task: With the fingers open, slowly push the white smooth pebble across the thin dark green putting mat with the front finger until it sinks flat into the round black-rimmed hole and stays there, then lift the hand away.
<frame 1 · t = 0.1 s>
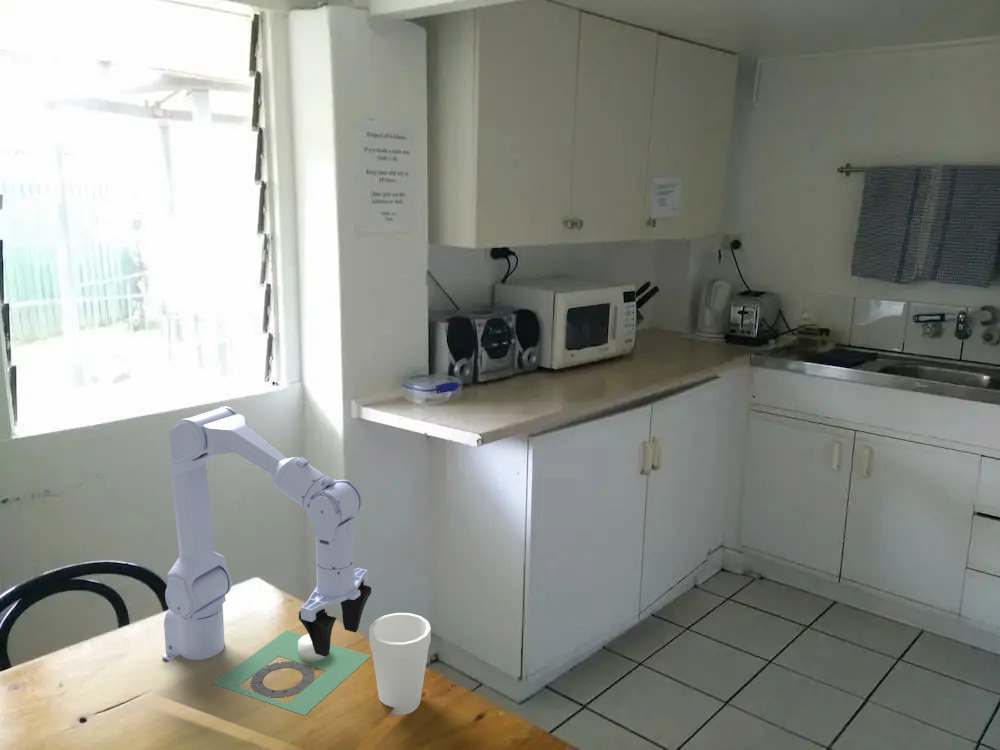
hand: (336, 641, 125), 10 cm above the table, tool pointing down, fingers open, 7 cm apart
white smooth pebble: (313, 654, 137), point 1 cm above the table, touching putting mat
foam cup: (400, 703, 127), on the table
putting mat: (294, 677, 132), on the table
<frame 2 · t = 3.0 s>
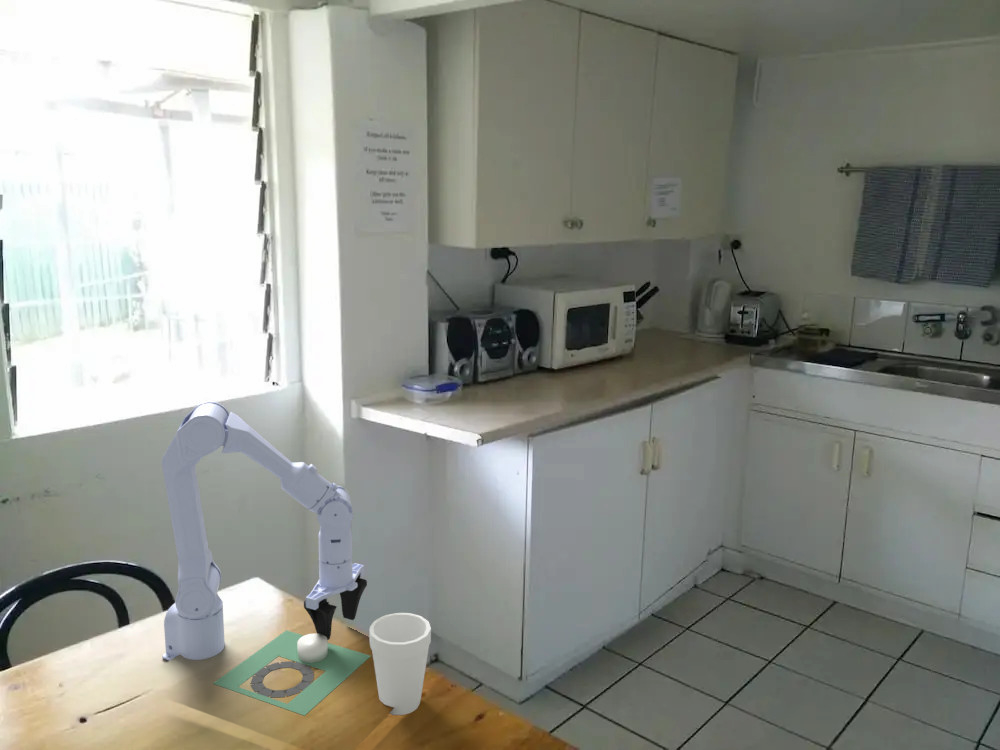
hand: (336, 628, 142), 3 cm above the table, tool pointing down, fingers open, 7 cm apart
white smooth pebble: (312, 654, 136), point 2 cm above the table, touching gripper, putting mat
everything else where it was.
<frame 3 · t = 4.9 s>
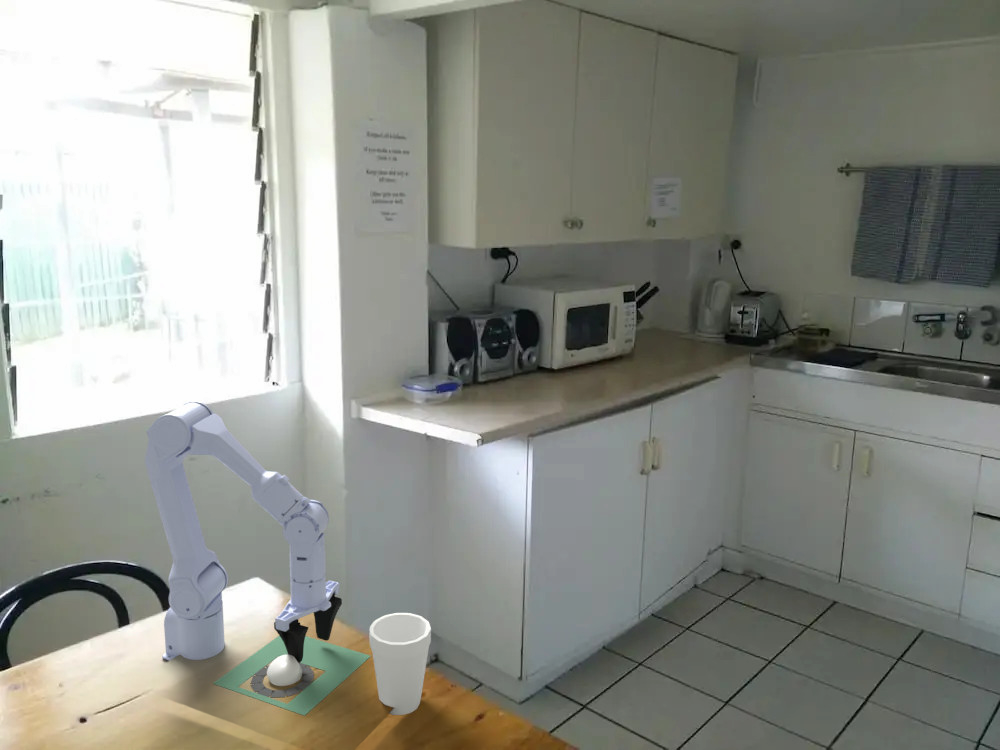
hand: (309, 649, 135), 3 cm above the table, tool pointing down, fingers open, 7 cm apart
white smooth pebble: (287, 676, 130), point 1 cm above the table, tilted 28°, touching gripper
everything else where it was.
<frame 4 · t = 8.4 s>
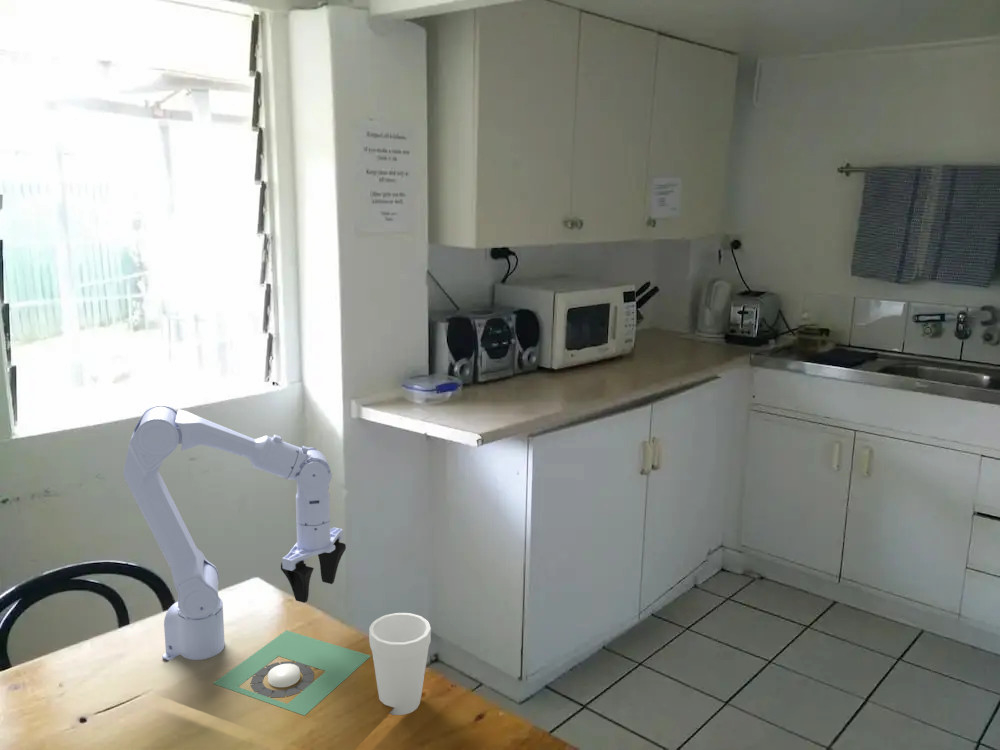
hand: (315, 591, 142), 9 cm above the table, tool pointing down, fingers open, 7 cm apart
white smooth pebble: (284, 686, 130), resting in putting mat
everything else where it was.
at the end: white smooth pebble 0.4 cm from the target spot on the putting mat, point 0.0 cm above the putting mat's base; white smooth pebble moved 7.8 cm from its start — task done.
